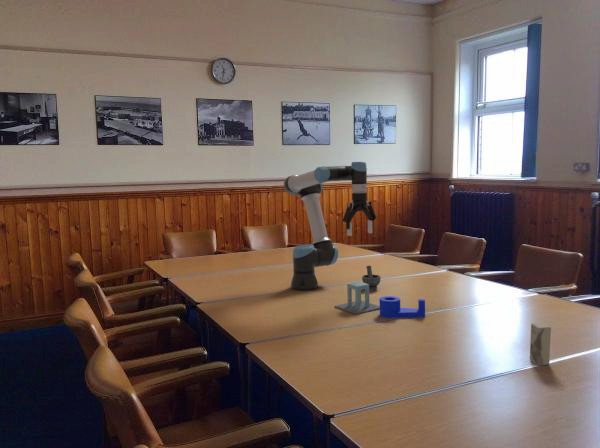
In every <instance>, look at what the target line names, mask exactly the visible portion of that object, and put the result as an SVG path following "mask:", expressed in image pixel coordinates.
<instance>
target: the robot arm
mask: <svg viewBox="0 0 600 448" xmlns="http://www.w3.org/2000/svg"><path fill="white" fill-rule="evenodd" d="M350 164H351V165H337V166H335V165H334V166H325V165H322V166H317V167H316V168H315V169H314V170H311V171H308V172H305V173H301V174H298V175H297V174H294V175H290V176H287V177H286V178H285V180H284V182H283V189H284V190H285V192H286V193H287V194H289V195H291V196H300V199H301V201H303V203H304V207H305V209H306V214H307V219H308V223H309V227H310V232H311V236H312V241H313V242H312V243H310V244H309V243H306V244H300V245H296V246H295V247H294V248H293V249H292V261H293V262H292V263H293V265H292V266H293V268H292V269H293V276H292V279H291V283H290V288H291V289H292V290H296V291H309V290H311V291H312V290H315V289H318V287H319V282H318V280H317V277H316V272H315V268H319V267H328V266H330V265H331V266H332V265H334V264H335V263H336V262H337V261H338V258H339V248H338V247H337V245H336V244H335V243H333V241H332V239H331V238H330V237H328V232H327V228H326V223H325V218H324V214H323V211H322V205H321V203H320V197H321V196H322V195H321V194H322V192H323V187H324V183H328V182H342V181H344V182H345V181H351V192H352V193H351V201H352V202H347V206H346V209H345V212H344V215H343V218H342V222H344V223H345V226H346V227H345V229H346V230H347V231H346V232H347V234H346V235H347V236H350V237H352V236H353V233H352V232H353V230H352V229H353V228H352V227H353V226H352V220H353V219H354V217H355V215H356V213H358V212H363V213H364V215H365V216H366V217H367V219H368V220H367V233H368V234H373V227H374V221H375V220H376V219H377V216H376V213H375V210H374V208H373V206H372V200H371V201H370V200H368V193H367V191H368V185H367V184H368V183H367V181H368V180H367V178H368V177H367V176H368V175H367V170H368V168H367V163H366V161H352V162H351V163H350Z"/></svg>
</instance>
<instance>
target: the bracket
mask: <svg viewBox="0 0 600 448" xmlns="http://www.w3.org/2000/svg"><path fill="white" fill-rule="evenodd" d="M417 304H418V307H417V308H410V307H401V298H400V297H398V296H392V295H391V296H389V295H387V296H381V297H379V306H380V309H379V316H380V317H382V318H385V319H386V318H387V319H402V318H413V319H414V318H426V300H425V298H418V303H417Z"/></svg>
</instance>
